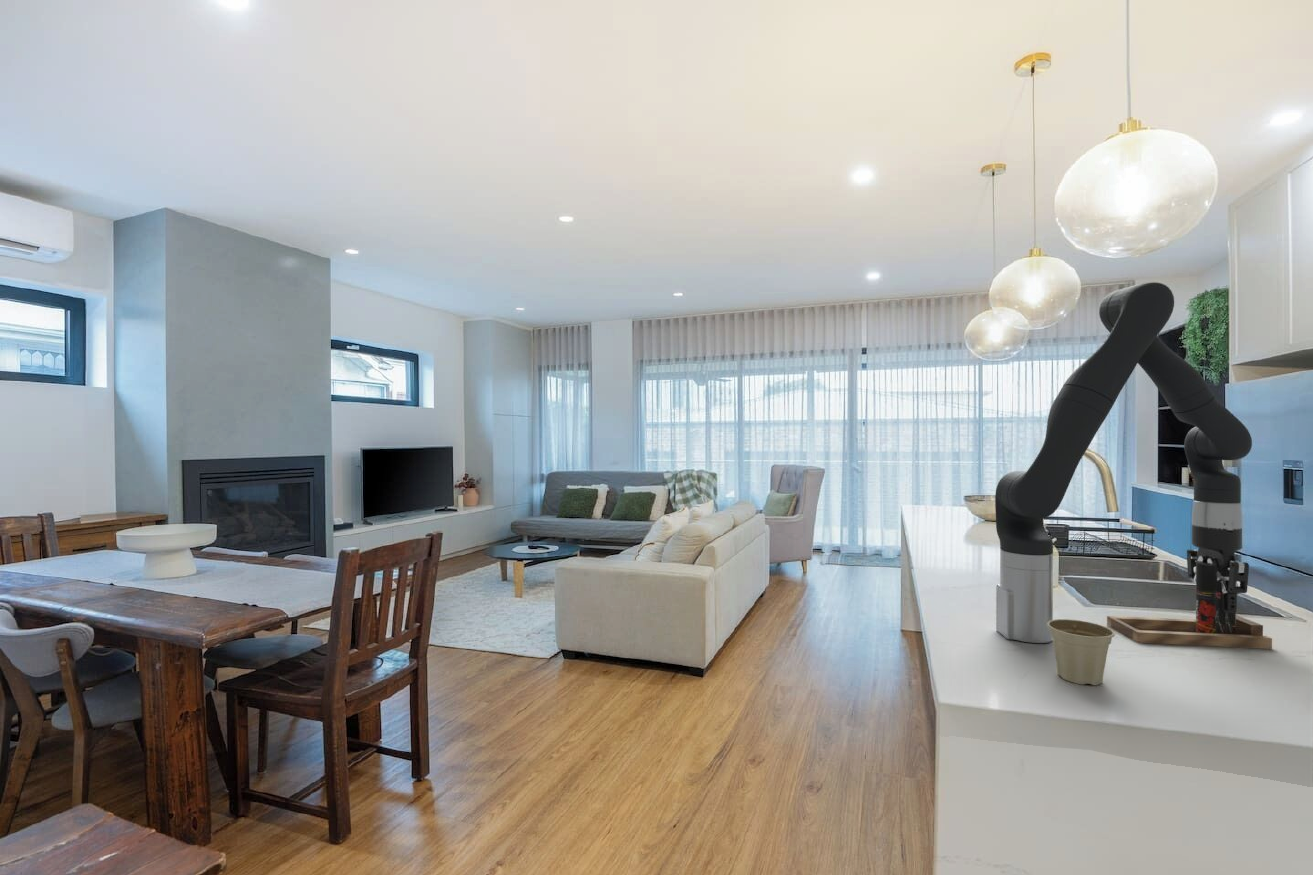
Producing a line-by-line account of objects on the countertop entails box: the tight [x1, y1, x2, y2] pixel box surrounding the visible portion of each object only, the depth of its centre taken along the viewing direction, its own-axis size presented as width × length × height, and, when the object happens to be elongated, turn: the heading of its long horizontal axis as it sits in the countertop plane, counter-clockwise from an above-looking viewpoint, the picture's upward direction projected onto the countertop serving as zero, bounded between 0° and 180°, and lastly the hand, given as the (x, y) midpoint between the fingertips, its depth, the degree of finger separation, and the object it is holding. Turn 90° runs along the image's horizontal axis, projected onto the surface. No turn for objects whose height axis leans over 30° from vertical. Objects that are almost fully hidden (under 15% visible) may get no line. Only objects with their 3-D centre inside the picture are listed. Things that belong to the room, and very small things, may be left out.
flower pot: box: [1047, 618, 1116, 686], centre depth 106 cm, size 9×9×9 cm
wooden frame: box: [1106, 614, 1273, 650], centre depth 127 cm, size 23×11×4 cm, turn 80°
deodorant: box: [1195, 561, 1237, 635], centre depth 126 cm, size 6×6×15 cm
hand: (1215, 607), depth 126 cm, fingers open, 6 cm apart
